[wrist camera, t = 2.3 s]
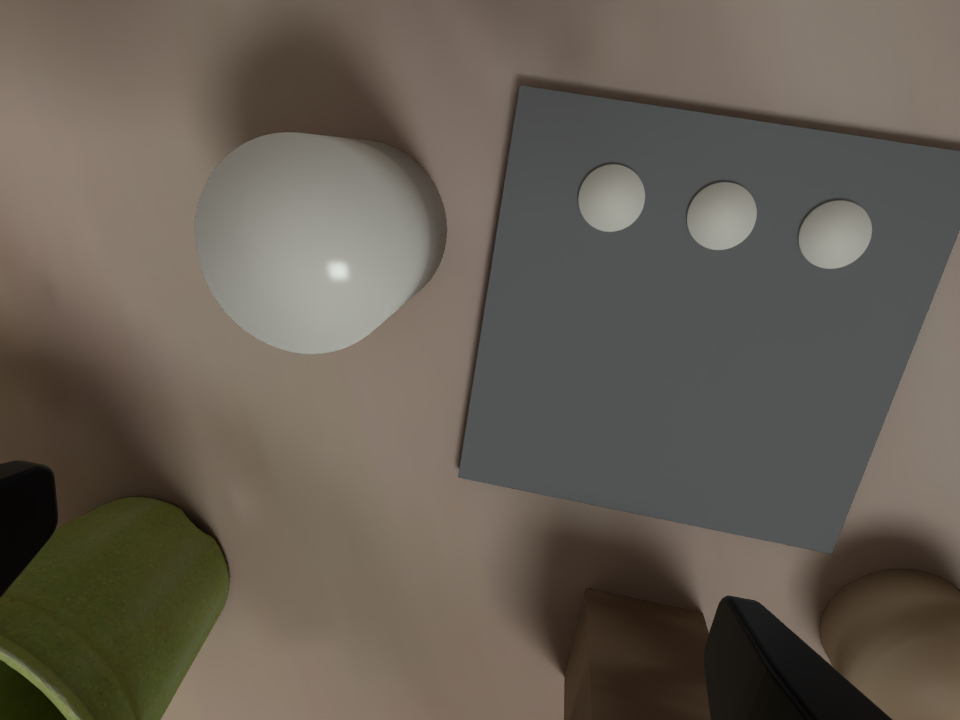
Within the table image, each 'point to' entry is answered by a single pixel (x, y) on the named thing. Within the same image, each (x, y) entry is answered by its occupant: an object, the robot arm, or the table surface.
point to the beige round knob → (898, 642)
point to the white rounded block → (317, 237)
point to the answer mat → (701, 312)
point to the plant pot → (109, 615)
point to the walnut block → (636, 662)
